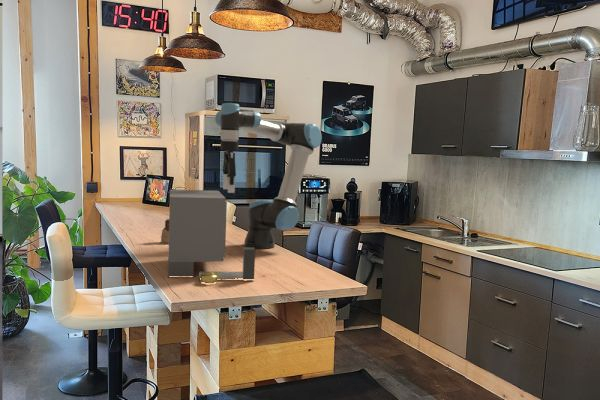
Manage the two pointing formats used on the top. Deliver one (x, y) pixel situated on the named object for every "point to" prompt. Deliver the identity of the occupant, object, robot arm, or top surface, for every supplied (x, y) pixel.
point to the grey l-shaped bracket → (247, 267)
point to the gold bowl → (209, 277)
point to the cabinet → (195, 229)
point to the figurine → (165, 233)
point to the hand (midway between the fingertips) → (228, 190)
